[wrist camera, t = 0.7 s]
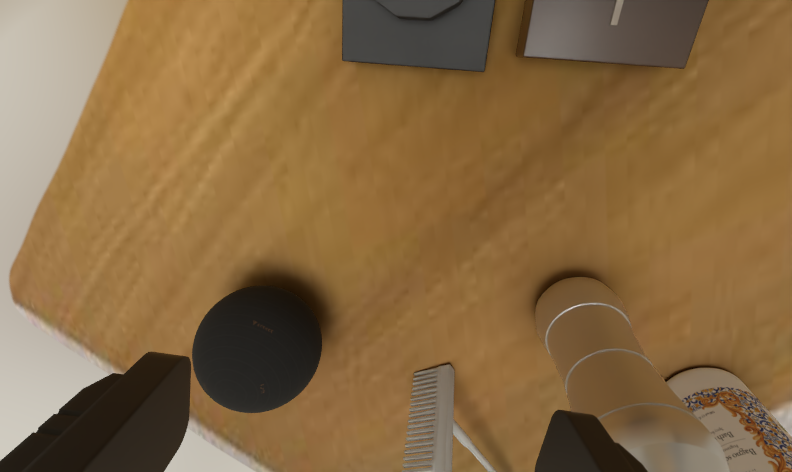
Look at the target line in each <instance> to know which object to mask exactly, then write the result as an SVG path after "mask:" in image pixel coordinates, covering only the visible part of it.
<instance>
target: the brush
mask: <svg viewBox="0 0 792 472" xmlns="http://www.w3.org/2000/svg"><path fill="white" fill-rule="evenodd" d="M434 372H436V373H434ZM429 373H432V374H429ZM454 373H455V372H454V369H453V368H452V366H451V365H450V364H449V365H444V366H439V367H437V368H433V369H429V370H425V371H420V372H416V373H414V375H415V376H419V375H423V376H419V377H415V378H413V380H414V381H417V380H422V379H427V378H431V379H427V380H422V381H418V382H414V383H412V384H413V385H414V386H416V385H421V384H426V385H422V386H417V387H413V388H412V389H413V390H414V391H416V390H421V389H426V390H422V391H417V392H412V393H411V394H412V396H416V395H421V394H427V393H431V394H427V395H422V396H418V397H413V398H411V400H412V401H416V400H422V399H428V398H433V399H428V400H423V401H418V402H414V403H410V405H411V406H418V405H424V404H430V403H435V404H430V405H425V406H420V407H415V408H410V409H409V410H410V412H415V411H421V410H427V409H433V408H435V409H433V410H428V411H423V412H418V413H413V414H409V417H411V418H412V417H418V416H425V415H431V414H435V415H432V416H426V417H421V418H415V419H410V420H408V422H409V423H416V422H423V421H430V420H434V421H431V422H425V423H420V424H414V425H408V426H407V428H408V429H415V428H422V427H429V426H433V427H430V428H424V429H419V430H413V431H407V434H408V435H414V434H421V433H429V432H434V433H432V434H426V435H420V436H414V437H408V438H406V440H407V441H415V440H424V439H433V440H427V441H421V442H415V443H409V444H405V447H407V448H409V447H418V446H427V445H433V446H430V447H423V448H417V449H411V450H405V451H404V453H405V454H413V453H423V452H432V453H429V454H422V455H415V456H408V457H404V458H403V459H404V460H405V461H410V460H420V459H429V458H432V460H427V461H420V462H413V463H405V464H403V467H404V468H408V467H419V466H431V465H432V466H431V467H428V468H420V469H413V470H405V471H402V472H452V444H453V434H454V435H455V437H456V438H457V439H458V440H459V441H460V442H461V443H462V445H463V446H464V447H467V448H468V449H469V450H470V451H471V452H472V453H473V455H474V456H475V457H476V458H477V459H478V460H479V461H480V463H481V464H482V465H483V466H484V467H485V468H486V469H487V471H488V472H497V471H496V470H495V469H494V468H493V466H492V465H491V464H490V463H489V462H488V461H487V459H486V458H485V457H484V456H483V455H482V453H481V452H480V451H479V450H478V449H477V448H476V446H475V445H474V444H473V443H472V442H471V439H470V438H469V437H468V435H467V434H466V433H465V432H464V431H463V430H462V428H461V427H460V426H459V425H458V424H457V422H456V421H455V420H454V419H453V408H454ZM424 374H427V375H424ZM432 377H435V378H432ZM432 382H435V383H432ZM427 383H431V384H427ZM432 387H436V388H432ZM427 388H431V389H427ZM432 392H436V393H432ZM434 397H436V398H434Z"/></svg>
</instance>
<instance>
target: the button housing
mask: <svg viewBox="0 0 792 472" xmlns="http://www.w3.org/2000/svg"><path fill="white" fill-rule="evenodd" d="M494 5H495V0H343V29H342V60H343V61H350V62H362V63H375V64H388V65H401V66H414V67H426V68H439V69H452V70H465V71H478V72H484V71H485V65H486V58H487V51H488V45H489V38H490V32H491V25H492V18H493V12H494Z"/></svg>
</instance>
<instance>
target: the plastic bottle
mask: <svg viewBox="0 0 792 472" xmlns="http://www.w3.org/2000/svg"><path fill="white" fill-rule="evenodd" d="M535 321H536V330H537V333H538V335H539V337H540V339H541V341H542V343H543V345H544V346H545V348H546V349H547V351H548V352H549V354H550V355H551V357H552V359H553V361H554V363H555V365H556V367H557V369H558V372H559V374H560V376H561V378H562V380H563V382H564V386H565V390H566V393H567V397H568V400H569V404H570V408H571V411H572V412H578V413H585V414H592V415H594V416H596V417H597V418H598V420H599V421H600V422H601V424H602V425H603V427H604V428H605V429H606V431H607V432H608V434H609V435H610V437H611V438H612V439H613V441H614V442H615V443H619V444H620V445H621V446H623V447H624V448H625V449H626V450H627V451H628V452H629V453H630V454H632V455H633V456H634V457H635V458H636V459H637V460H638V461H639V462H640V463H642V464H643V466H644V467H645V468H646V470H647V471H648V472H730V469H729V466H728V463H727V460H726V457H725V454H724V451H723V449H722V447H721V446H720V444H719V443H718V441H717V440H716V439H715V438H714V436H713V435H712V434H711V433H710V431H709V430H708V429H707V428H706V427H705V426H704V425H703V423H702V422H701V421H700V420H699V419H698V418H697V417H696V416H695V415H694V414H693V413H692V411H691V410H690V409H689V408H688V407H687V406H686V405H685V404H684V403H683V402H682V400H681V399H680V398H679V397H678V396H677V395H676V394H675V393H674V392H673V391H672V390H671V388H670V387H669V386H668V384H667V383H666V382H665V380H664V379H663V378H662V376H661V375H660V374H659V372H658V371H657V370H656V369H655V368H654V366H653V365H652V363H651V362H650V360H649V359H648V358H647V356H646V355H645V353H644V351H643V349H642V348H641V346H640V344H639V342H638V340H637V338H636V336H635V334H634V332H633V330H632V328H631V324H630V320H629V317H628V314H627V312H626V310H625V307H624V305H623V303H622V301H621V299H620V298H619V297H618V296H617V295H616V294H615V293H614V292H613V291H612V290H611V289H610V288H608V287H607V286H606V285H605V284H603V283H602V282H600V281H598V280H595V279H592V278H587V277H572V278H566V279H563V280H560V281H558V282H556V283H554V284H553V285H552V286H550V287H549V288H548V289H547V290H546V291H545V292H544V293H543V294H542V295H541V297H540V298H539V300H538V302H537V305H536V310H535Z"/></svg>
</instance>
